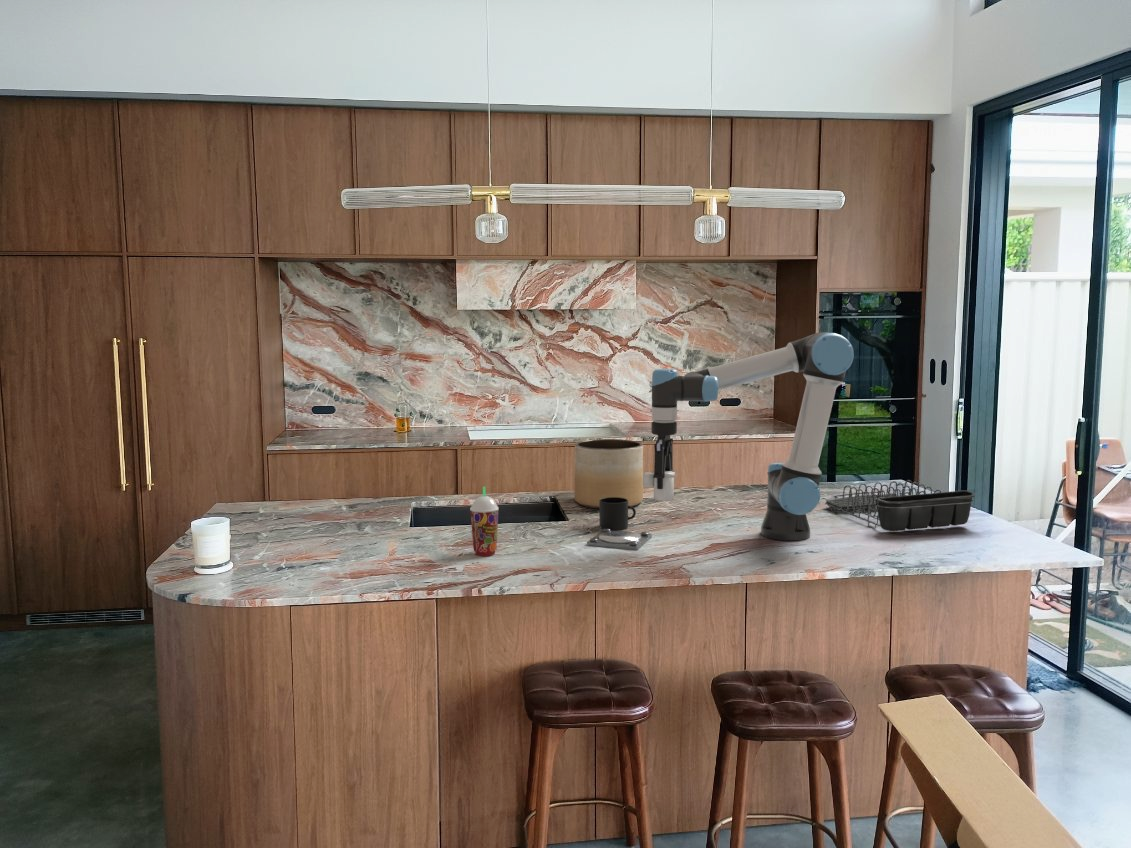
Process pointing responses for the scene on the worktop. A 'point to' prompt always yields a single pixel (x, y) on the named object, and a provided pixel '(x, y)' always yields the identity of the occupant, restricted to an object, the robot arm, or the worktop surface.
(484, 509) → the smoothie
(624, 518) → the mug
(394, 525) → the worktop surface
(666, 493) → the elbow
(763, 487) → the worktop surface
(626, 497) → the planter
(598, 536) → the duct flange
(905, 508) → the dish rack
